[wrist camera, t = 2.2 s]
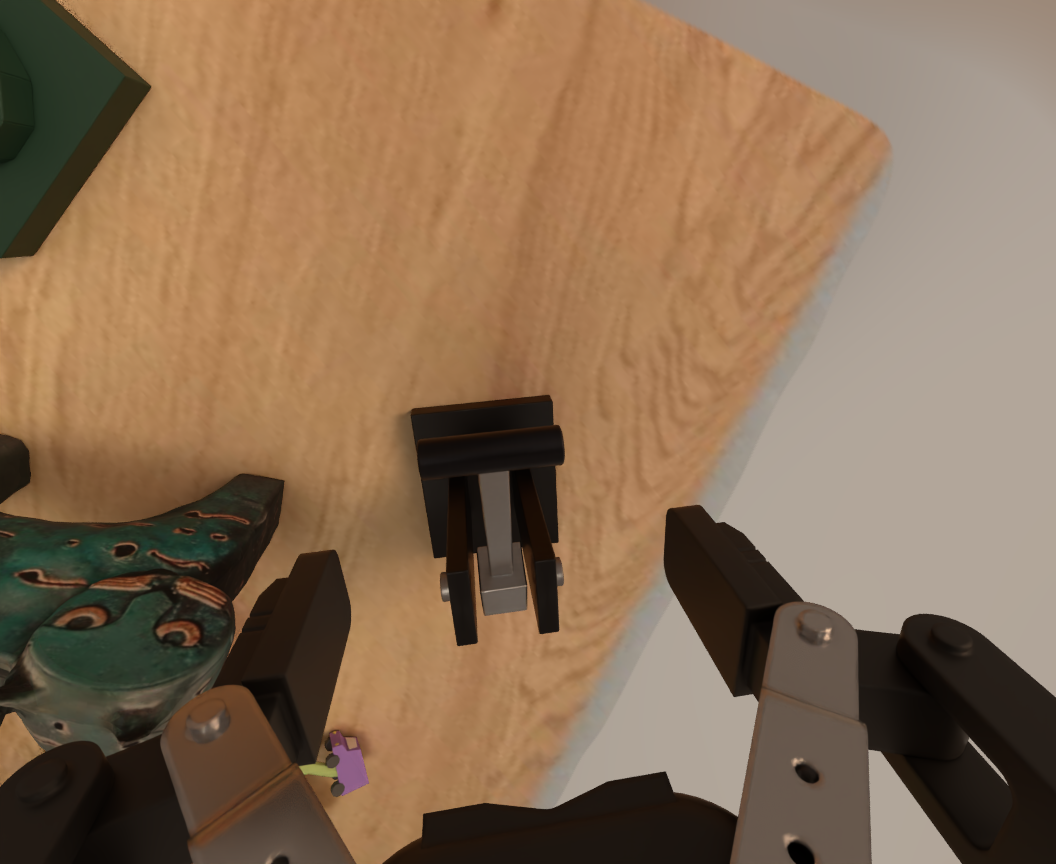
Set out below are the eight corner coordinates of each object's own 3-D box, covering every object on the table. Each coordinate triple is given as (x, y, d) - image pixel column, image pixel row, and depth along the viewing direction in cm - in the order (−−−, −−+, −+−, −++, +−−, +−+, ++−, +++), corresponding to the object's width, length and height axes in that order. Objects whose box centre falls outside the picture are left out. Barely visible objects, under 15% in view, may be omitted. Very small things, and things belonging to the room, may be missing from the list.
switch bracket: (411, 408, 33) (387, 516, 21) (549, 394, 34) (599, 490, 22) (434, 548, 37) (424, 701, 26) (555, 533, 38) (599, 674, 26)
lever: (416, 421, 18) (416, 475, 16) (556, 406, 18) (568, 457, 17) (453, 575, 27) (456, 620, 25) (546, 563, 28) (554, 606, 26)
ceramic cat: (315, 470, 34) (148, 775, 15) (302, 550, 36) (143, 899, 18) (-48, 401, 29) (-887, 718, 11) (-37, 497, 31) (-719, 893, 13)
